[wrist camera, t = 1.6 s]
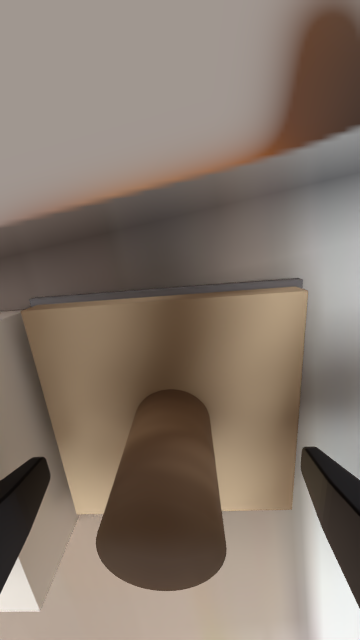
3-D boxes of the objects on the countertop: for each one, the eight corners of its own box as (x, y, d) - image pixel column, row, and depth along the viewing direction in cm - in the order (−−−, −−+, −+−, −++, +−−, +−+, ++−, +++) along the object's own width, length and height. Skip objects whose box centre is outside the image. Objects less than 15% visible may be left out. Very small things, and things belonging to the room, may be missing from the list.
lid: (295, 286, 9) (433, 335, 4) (283, 489, 12) (354, 667, 7) (36, 305, 10) (-134, 369, 5) (85, 494, 13) (14, 664, 8)
